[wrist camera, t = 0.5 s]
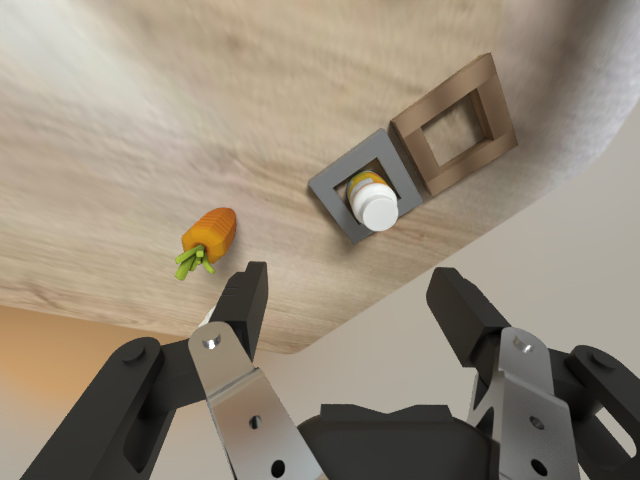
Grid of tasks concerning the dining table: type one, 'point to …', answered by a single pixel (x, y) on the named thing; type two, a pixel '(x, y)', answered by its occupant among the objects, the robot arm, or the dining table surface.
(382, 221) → the supplement bottle
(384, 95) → the dining table surface
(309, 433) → the robot arm
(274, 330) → the dining table surface
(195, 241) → the carrot
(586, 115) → the dining table surface
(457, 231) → the dining table surface
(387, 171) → the socket
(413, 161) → the socket
